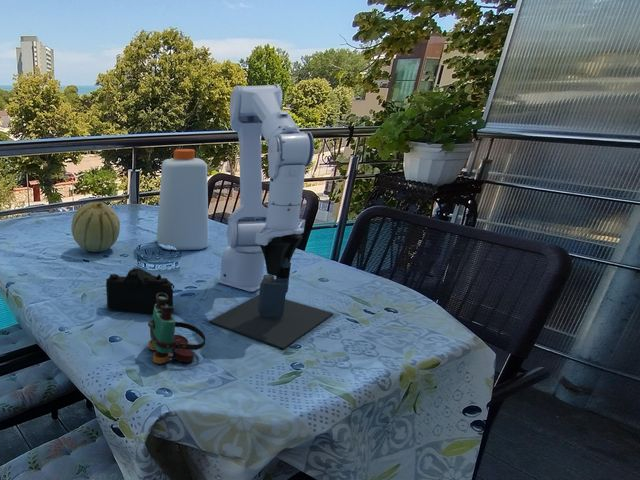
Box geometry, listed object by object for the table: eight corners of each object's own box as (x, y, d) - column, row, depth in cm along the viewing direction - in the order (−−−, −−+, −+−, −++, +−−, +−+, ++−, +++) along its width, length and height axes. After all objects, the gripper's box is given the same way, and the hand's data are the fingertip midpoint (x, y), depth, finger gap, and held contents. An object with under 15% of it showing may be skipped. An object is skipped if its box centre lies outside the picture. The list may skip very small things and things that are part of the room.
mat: (209, 322, 93) (209, 320, 93) (262, 294, 105) (262, 292, 105) (283, 350, 82) (283, 348, 82) (333, 314, 95) (333, 313, 94)
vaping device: (285, 317, 91) (293, 260, 86) (257, 316, 92) (263, 260, 87) (283, 311, 94) (291, 256, 89) (256, 310, 95) (262, 255, 90)
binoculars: (216, 311, 75) (155, 310, 74) (206, 368, 79) (148, 367, 78) (201, 290, 83) (146, 289, 82) (193, 342, 87) (141, 341, 86)
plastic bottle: (210, 250, 137) (215, 151, 126) (159, 252, 137) (160, 153, 126) (202, 236, 151) (206, 146, 140) (155, 238, 151) (155, 148, 140)
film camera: (179, 299, 104) (180, 261, 101) (170, 318, 96) (170, 277, 92) (115, 293, 109) (114, 257, 105) (101, 310, 100) (99, 271, 97)
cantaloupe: (92, 241, 150) (90, 194, 144) (130, 247, 142) (129, 198, 136) (62, 253, 139) (58, 203, 133) (101, 261, 131) (98, 208, 125)
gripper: (284, 212, 78) (276, 288, 83) (324, 199, 86) (314, 267, 92) (247, 207, 82) (241, 278, 88) (288, 194, 91) (281, 260, 97)
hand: (276, 272), depth 90 cm, fingers closed on vaping device, 2 cm apart
